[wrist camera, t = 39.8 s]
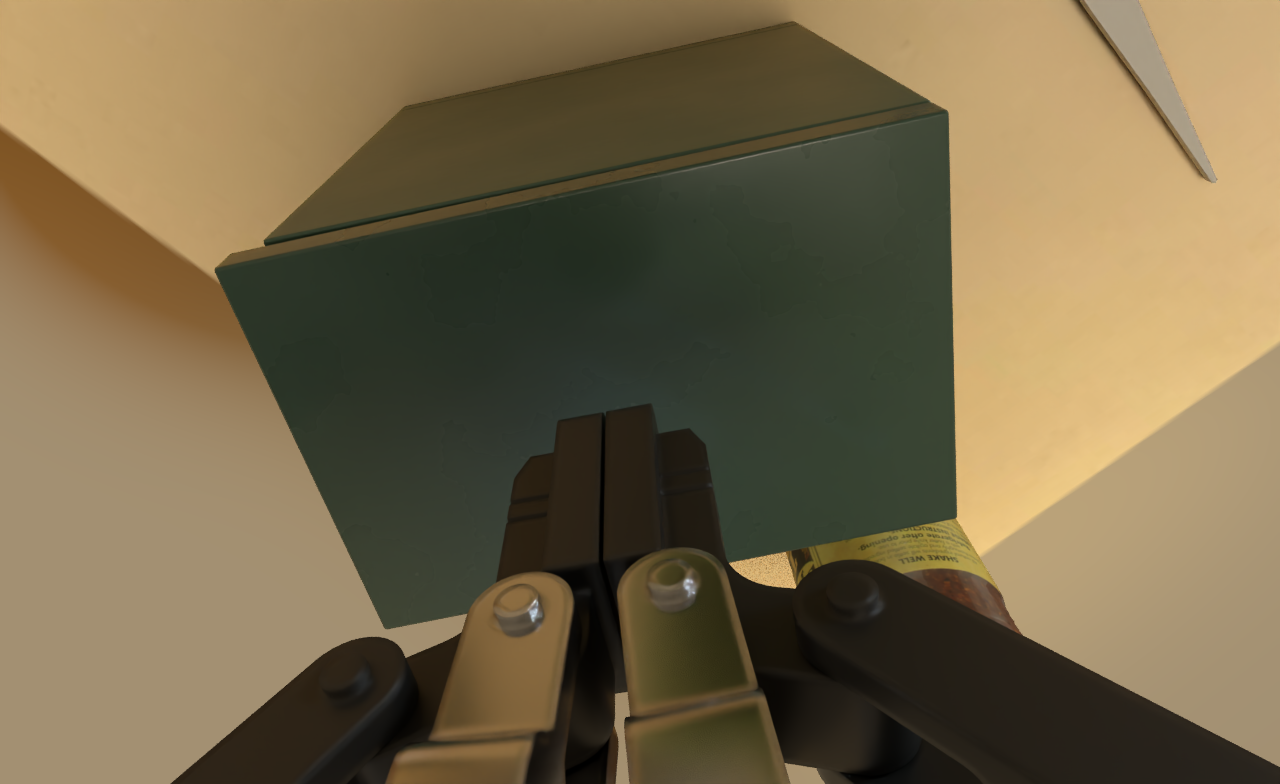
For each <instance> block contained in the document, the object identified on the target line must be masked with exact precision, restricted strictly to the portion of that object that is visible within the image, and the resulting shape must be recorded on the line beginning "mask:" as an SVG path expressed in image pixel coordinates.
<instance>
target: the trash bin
mask: <svg viewBox="0 0 1280 784" xmlns="http://www.w3.org/2000/svg"><path fill="white" fill-rule="evenodd" d="M929 102H930V101H929V100H928V99H926V98H924V97H923V96H921V95H919V94H917V93H916V92H914V91H912V90H911V89H909V88H907V87H905V86H904V85H902V84H900V83H899V82H897V81H895V80H893V79H892V78H890V77H888V76H887V75H885V74H883V73H881V72H880V71H878V70H876V69H875V68H873V67H871V66H869V65H868V64H866V63H864V62H863V61H861V60H859V59H858V58H856V57H854V56H852V55H851V54H849V53H847V52H846V51H844V50H842V49H840V48H839V47H837V46H835V45H834V44H832V43H830V42H828V41H827V40H825V39H823V38H822V37H820V36H818V35H816V34H815V33H813V32H811V31H810V30H808V29H806V28H804V27H803V26H801V25H799V24H798V23H796V22H790V23H786V24H781V25H776V26H772V27H767V28H763V29H758V30H753V31H749V32H744V33H740V34H735V35H731V36H726V37H721V38H717V39H712V40H708V41H703V42H698V43H694V44H689V45H685V46H680V47H676V48H671V49H666V50H662V51H657V52H653V53H648V54H644V55H639V56H634V57H630V58H625V59H621V60H616V61H611V62H607V63H602V64H598V65H593V66H589V67H584V68H579V69H575V70H570V71H566V72H561V73H556V74H552V75H547V76H543V77H538V78H534V79H529V80H524V81H520V82H515V83H511V84H506V85H501V86H497V87H492V88H488V89H483V90H479V91H474V92H469V93H465V94H460V95H456V96H451V97H446V98H442V99H437V100H433V101H428V102H424V103H419V104H414V105H410V106H405V107H404V108H403V109H402V110H401V111H400V112H398V113H397V114H396V115H395V116H394V117H393V118H392V119H391V120H390V121H389V122H388V123H387V124H386V125H385V126H384V127H383V128H382V129H381V130H379V131H378V132H377V133H376V134H375V135H374V136H373V137H372V138H371V139H370V140H369V141H368V142H367V143H366V144H365V145H364V146H363V147H362V148H361V149H359V150H358V151H357V152H356V153H355V154H354V155H353V156H352V157H351V158H350V159H349V160H348V161H347V162H346V163H345V164H344V165H343V166H342V167H340V168H339V169H338V170H337V171H336V172H335V173H334V174H333V175H332V176H331V177H330V178H329V179H328V180H327V181H326V182H325V183H324V184H323V185H322V186H320V187H319V188H318V189H317V190H316V191H315V192H314V193H313V194H312V195H311V196H310V197H309V198H308V199H307V200H306V201H305V202H304V203H303V204H301V205H300V206H299V207H298V208H297V209H296V210H295V211H294V212H293V213H292V214H291V215H290V216H289V217H288V218H287V219H286V220H285V221H284V222H282V223H281V224H280V225H279V226H278V227H277V228H276V229H275V230H274V231H273V232H272V233H271V234H270V235H269V236H268V237H267V238H266V239H265V240H264V245H265V246H269V245H274V244H278V243H283V242H287V241H292V240H297V239H301V238H306V237H310V236H315V235H320V234H324V233H329V232H334V231H338V230H343V229H347V228H352V227H357V226H361V225H366V224H370V223H375V222H380V221H384V220H389V219H394V218H398V217H403V216H407V215H412V214H417V213H421V212H426V211H430V210H435V209H440V208H444V207H449V206H454V205H458V204H463V203H467V202H472V201H477V200H481V199H486V198H490V197H495V196H500V195H504V194H509V193H513V192H518V191H523V190H527V189H532V188H537V187H541V186H546V185H550V184H555V183H560V182H564V181H569V180H573V179H578V178H583V177H587V176H592V175H597V174H601V173H606V172H610V171H615V170H620V169H624V168H629V167H633V166H638V165H643V164H647V163H652V162H656V161H661V160H666V159H670V158H675V157H680V156H684V155H689V154H693V153H698V152H703V151H707V150H712V149H716V148H721V147H726V146H730V145H735V144H740V143H744V142H749V141H753V140H758V139H763V138H767V137H772V136H776V135H781V134H786V133H790V132H795V131H800V130H804V129H809V128H813V127H818V126H823V125H827V124H832V123H836V122H841V121H846V120H850V119H855V118H859V117H864V116H869V115H873V114H878V113H883V112H887V111H892V110H896V109H901V108H906V107H910V106H915V105H919V104H924V103H929Z"/></svg>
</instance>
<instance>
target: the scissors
mask: <svg viewBox="0 0 1280 784" xmlns="http://www.w3.org/2000/svg"><path fill="white" fill-rule="evenodd" d="M1079 1H1080V2H1081V4H1082V5H1083V7H1084V8H1085V10H1086V11H1087V12H1088V14H1089V15H1090V17H1091V18H1092V19H1093V21H1094V22H1095V23H1096V25H1097V26H1098V28H1099V29H1100V30H1101V32H1102V33H1103V35H1104V36H1105V37H1106V39H1107V40H1108V41H1109V43H1110V44H1111V46H1112V47H1113V48H1114V50H1115V51H1116V53H1117V54H1118V55H1119V57H1120V58H1121V59H1122V61H1123V62H1124V64H1125V65H1126V66H1127V68H1128V69H1129V70H1130V72H1131V73H1132V75H1133V76H1134V77H1135V79H1136V80H1137V82H1138V83H1139V84H1140V86H1141V87H1142V88H1143V90H1144V91H1145V93H1146V94H1147V96H1148V97H1149V98H1150V100H1151V101H1152V103H1153V104H1154V106H1155V107H1156V109H1157V110H1158V112H1159V113H1160V114H1161V116H1162V117H1163V119H1164V120H1165V122H1166V123H1167V125H1168V126H1169V128H1170V129H1171V130H1172V132H1173V133H1174V135H1175V136H1176V138H1177V139H1178V141H1179V142H1180V144H1181V145H1182V146H1183V148H1184V149H1185V151H1186V152H1187V154H1188V155H1189V157H1190V158H1191V159H1192V161H1193V162H1194V164H1195V165H1196V167H1197V168H1198V170H1199V171H1200V173H1201V174H1202V175H1203V177H1204V178H1205V180H1207V181H1209V182H1211V183H1216V181H1217V178H1216V176H1215V173H1214V171H1213V169H1212V167H1211V165H1210V162H1209V160H1208V158H1207V156H1206V153H1205V151H1204V149H1203V147H1202V145H1201V142H1200V140H1199V138H1198V136H1197V133H1196V131H1195V129H1194V127H1193V125H1192V122H1191V120H1190V118H1189V116H1188V113H1187V111H1186V109H1185V107H1184V105H1183V102H1182V100H1181V98H1180V96H1179V94H1178V91H1177V89H1176V87H1175V85H1174V82H1173V80H1172V78H1171V76H1170V73H1169V71H1168V69H1167V66H1166V64H1165V62H1164V59H1163V57H1162V54H1161V52H1160V50H1159V47H1158V45H1157V43H1156V40H1155V38H1154V36H1153V33H1152V31H1151V28H1150V26H1149V24H1148V21H1147V19H1146V17H1145V14H1144V12H1143V10H1142V7H1141V5H1140V3H1139V0H1079Z"/></svg>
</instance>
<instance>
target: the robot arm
mask: <svg viewBox="0 0 1280 784" xmlns="http://www.w3.org/2000/svg"><path fill="white" fill-rule="evenodd" d="M510 501H511V505H509V511H508V516H507V520H508V523H506V528H505V534H504V539H503V545H502V551H501V557H500V562H499V568H498V574H497V580H496V583H495V584H493V585H492V586H491V587H489V588H488V589H486V590H485V591H484V592H483V593H482V594H481V595H480V596H479V597H478V598H477V599H476V600H475V601H474V603H473V604H472V606H471V608H470V609H469V612H468V614H467V617H466V620H465V623H464V627H463V630H462V632H461V633H460V634H458V635H457V636H455V637H453V638H451V639H449V640H447V641H445V642H443V643H440V644H438V645H436V646H433V647H431V648H429V649H426V650H424V651H421V652H419V653H417V654H414V655H412V656H410V657H407V658H405V656H404V654H403V651H402V650H401V648H400V647H399V646H398V645H397V644H396V643H394V642H393V641H390V640H389V639H386V638H381V637H366V638H359V639H355V640H351V641H349V642H346V643H343V644H341V645H339V646H337V647H335V648H333V649H331V650H330V651H328V652H327V653H325V654H323V655H322V656H321V657H319V658H318V659H317V660H316V661H314V662H313V663H312V664H311V665H310V666H309V667H307V668H306V669H305V670H304V671H303V672H301V673H300V674H299V675H298V676H297V677H296V678H294V679H293V680H292V681H291V682H290V683H289V684H287V685H286V686H285V687H284V688H283V689H282V690H280V691H279V692H278V693H277V694H276V695H274V696H273V697H272V698H271V699H270V700H268V701H267V702H266V703H265V704H264V705H263V706H261V708H259V709H258V710H257V711H256V712H254V713H253V714H252V715H251V716H250V717H248V718H247V719H246V720H245V721H244V722H243V723H242V724H240V725H239V726H238V727H237V728H236V729H234V730H233V731H232V732H231V733H230V734H229V735H227V736H226V737H225V738H224V739H223V740H221V741H220V742H219V743H218V744H217V745H216V746H215V747H213V748H212V749H211V750H210V751H208V752H207V753H206V754H205V755H204V756H203V757H201V758H200V759H199V760H198V761H197V762H196V763H194V764H193V765H192V766H191V767H190V768H189V769H187V770H186V771H185V772H184V773H183V774H181V775H180V776H179V777H178V778H177V779H176V780H174V781H173V782H172V783H171V784H616V772H617V760H618V737H617V733H616V730H615V727H614V721H615V694H616V693H622V692H628V700H629V710H630V717H626V718H625V722H624V729H625V742H626V752H627V762H628V772H629V782H630V784H790V781H789V777H788V774H787V770H786V767H785V763H788V764H795V765H801V766H807V767H814V768H817V771H818V773H819V775H820V777H821V778H822V780H823V781H824V782H825V784H1280V767H1278V766H1276V765H1274V764H1272V763H1271V762H1269V761H1267V760H1265V759H1263V758H1261V757H1259V756H1257V755H1255V754H1253V753H1251V752H1249V751H1247V750H1245V749H1243V748H1241V747H1239V746H1237V745H1236V744H1234V743H1232V742H1230V741H1228V740H1226V739H1224V738H1222V737H1220V736H1218V735H1216V734H1214V733H1212V732H1210V731H1208V730H1206V729H1204V728H1202V727H1200V726H1198V725H1196V724H1195V723H1193V722H1191V721H1189V720H1187V719H1184V718H1183V717H1181V716H1179V715H1177V714H1175V713H1173V712H1171V711H1169V710H1167V709H1165V708H1163V707H1161V706H1159V705H1157V704H1156V703H1153V702H1152V701H1150V700H1148V699H1146V698H1144V697H1142V696H1140V695H1138V694H1136V693H1134V692H1132V691H1130V690H1128V689H1126V688H1124V687H1122V686H1120V685H1118V684H1116V683H1114V682H1113V681H1111V680H1109V679H1107V678H1105V677H1103V676H1101V675H1099V674H1097V673H1095V672H1093V671H1091V670H1089V669H1087V668H1085V667H1083V666H1081V665H1079V664H1077V663H1075V662H1074V661H1072V660H1070V659H1068V658H1066V657H1064V656H1062V655H1060V654H1058V653H1056V652H1054V651H1052V650H1050V649H1048V648H1046V647H1044V646H1042V645H1040V644H1038V643H1036V642H1034V641H1033V640H1031V639H1029V638H1027V637H1025V636H1023V635H1021V634H1019V633H1017V632H1015V631H1013V630H1011V629H1009V628H1007V627H1005V626H1003V625H1001V624H999V623H997V622H995V621H994V620H992V619H990V618H988V617H986V616H984V615H982V614H980V613H978V612H976V611H974V610H972V609H970V608H968V607H966V606H964V605H962V604H960V603H958V602H956V601H954V600H953V599H951V598H949V597H947V596H945V595H943V594H941V593H939V592H937V591H935V590H933V589H931V588H929V587H927V586H925V585H923V584H921V583H919V582H917V581H915V580H913V579H912V578H910V577H908V576H906V575H904V574H902V573H900V572H898V571H896V570H894V569H892V568H890V567H888V566H885V565H883V564H880V563H877V562H873V561H867V560H858V559H849V560H839V561H835V562H830V563H827V564H825V565H822V566H820V567H818V568H816V569H814V570H812V571H811V572H810V573H808V574H807V575H806V576H805V577H804V578H803V579H802V580H801V581H800V582H799V584H798V585H797V587H796V589H792V588H781V587H772V586H766V585H762V584H759V583H756V582H753V581H751V580H748V579H747V578H745V577H743V576H741V575H740V574H739V573H737V572H736V571H735V570H734V569H733V568H732V567H731V566H730V564H729V563H728V561H727V559H726V553H725V547H724V541H723V535H722V530H721V524H720V518H719V513H718V508H717V502H716V497H715V492H714V486H713V481H712V476H711V470H710V465H709V460H708V455H707V449H706V444H705V443H704V442H703V441H702V440H701V439H700V438H699V437H698V436H697V435H696V434H695V433H694V432H693V431H692V430H691V429H690V428H687V429H681V430H675V431H670V432H664V433H659V432H658V427H657V423H656V418H655V414H654V410H653V406H652V404H651V403H649V404H644V405H638V406H633V407H627V408H622V409H616V410H611V411H607V412H606V416H605V414H604V413H603V412H601V413H595V414H590V415H584V416H579V417H573V418H568V419H562V420H558V422H557V428H556V437H555V446H554V453H548V454H543V455H537V456H531V457H530V458H529V459H528V461H527V462H526V463H525V465H524V466H523V467H522V469H521V470H520V471H519V473H518V474H517V475H516V477H515V478H514V482H513V488H512V493H511V499H510Z"/></svg>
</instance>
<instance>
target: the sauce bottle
mask: <svg viewBox="0 0 1280 784" xmlns="http://www.w3.org/2000/svg"><path fill="white" fill-rule="evenodd" d="M786 554H787V557H788V560H789V563H790V566H791V569H792V573H793V577H794V580H795V583H796V586H797V585H798V584H799V582H800V581H801V580H802V579H803V578H804V577H805V576H806V575H807V574H808V573H810V572H811V571H812V570H814V569H816V568H818V567H820V566H822V565H825V564H827V563H830V562H835V561H839V560H849V559H858V560H867V561H873V562H877V563H880V564H883V565H885V566H888V567H890V568H892V569H894V570H896V571H898V572H900V573H902V574H904V575H906V576H908V577H910V578H912V579H913V580H915V581H917V582H919V583H921V584H923V585H925V586H927V587H929V588H931V589H933V590H935V591H937V592H939V593H941V594H943V595H945V596H947V597H949V598H951V599H953V600H954V601H956V602H958V603H960V604H962V605H964V606H966V607H968V608H970V609H972V610H974V611H976V612H978V613H980V614H982V615H984V616H986V617H988V618H990V619H992V620H994V621H995V622H997V623H999V624H1001V625H1003V626H1005V627H1007V628H1009V629H1011V630H1013V631H1015V632H1017V633H1019V634H1021V633H1020V632H1019V629H1018V628H1017V627H1016V625H1015V624H1014V621H1013V619H1012V618H1011V617H1010V615H1009V613H1008V611H1007V610H1006V607H1005V603H1004V600H1003V597H1002V595H1001V592H1000V591H999V589H998V587H997V586H996V584H995V582H994V581H993V579H992V578H991V576H990V574H989V572H988V571H987V569H986V567H985V566H984V564H983V562H982V561H981V559H980V557H979V556H978V554H977V553H976V551H975V549H974V548H973V546H972V544H971V543H970V541H969V539H968V538H967V536H966V535H965V533H964V531H963V530H962V528H961V526H960V525H959V523H958V521H957V520H956V518H955V519H951V520H946V521H941V522H936V523H930V524H925V525H920V526H915V527H910V528H905V529H900V530H894V531H889V532H884V533H879V534H874V535H869V536H864V537H859V538H853V539H848V540H843V541H838V542H833V543H828V544H823V545H817V546H812V547H807V548H802V549H797V550H792V551H787V552H786ZM1021 635H1022V634H1021Z"/></svg>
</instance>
